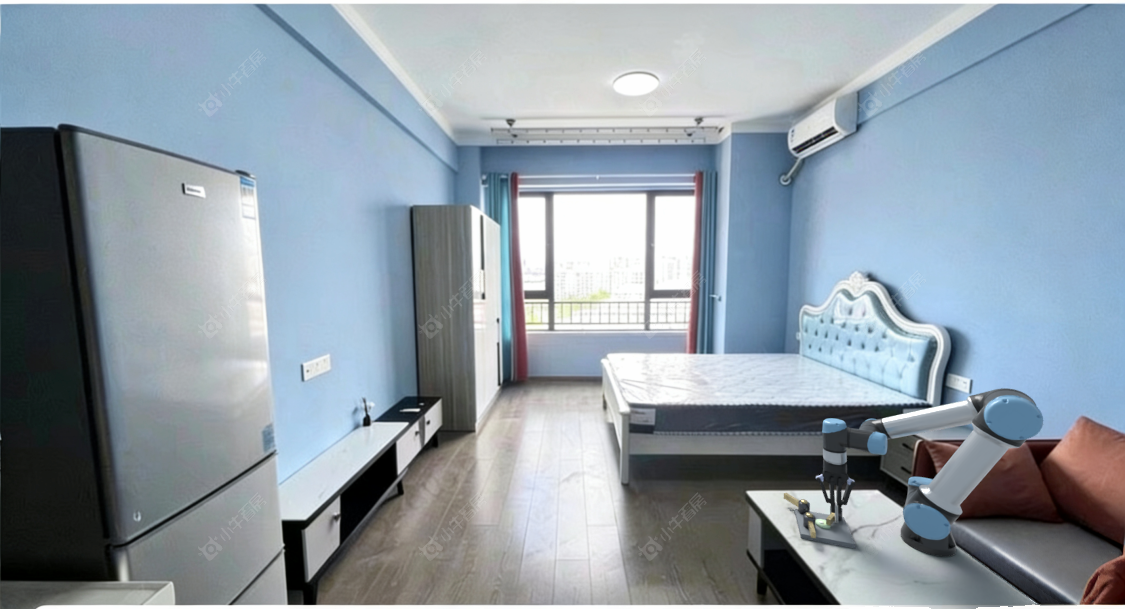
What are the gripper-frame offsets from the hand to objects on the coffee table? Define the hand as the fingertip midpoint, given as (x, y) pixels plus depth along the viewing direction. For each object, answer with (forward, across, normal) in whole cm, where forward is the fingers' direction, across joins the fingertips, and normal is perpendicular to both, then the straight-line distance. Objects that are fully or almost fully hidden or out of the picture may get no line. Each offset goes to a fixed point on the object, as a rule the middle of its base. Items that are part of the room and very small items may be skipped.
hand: (836, 520), depth 159 cm
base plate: (+3, +5, +1) cm, 6 cm away
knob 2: (+1, +10, +8) cm, 13 cm away
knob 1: (+1, +12, -8) cm, 15 cm away
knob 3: (+2, +1, -2) cm, 3 cm away
